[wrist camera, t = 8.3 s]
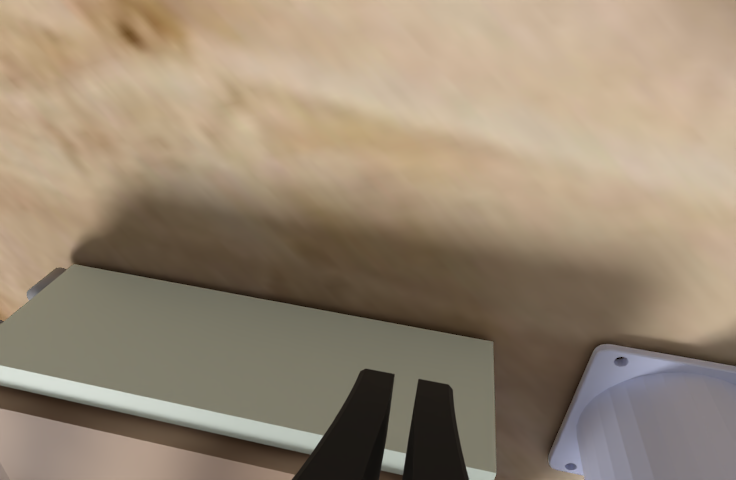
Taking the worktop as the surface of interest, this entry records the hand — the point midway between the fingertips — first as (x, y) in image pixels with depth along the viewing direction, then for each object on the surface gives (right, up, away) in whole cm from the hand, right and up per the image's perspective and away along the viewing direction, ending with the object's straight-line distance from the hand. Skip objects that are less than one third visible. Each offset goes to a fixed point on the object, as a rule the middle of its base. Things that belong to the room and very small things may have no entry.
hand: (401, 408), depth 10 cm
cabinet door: (-5, 0, +12) cm, 13 cm away
